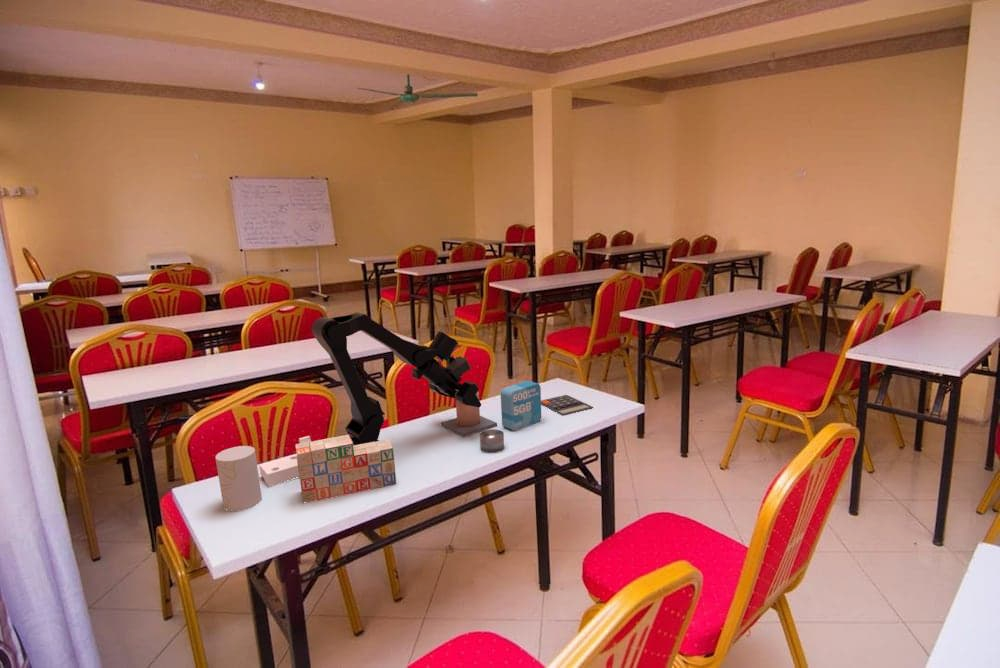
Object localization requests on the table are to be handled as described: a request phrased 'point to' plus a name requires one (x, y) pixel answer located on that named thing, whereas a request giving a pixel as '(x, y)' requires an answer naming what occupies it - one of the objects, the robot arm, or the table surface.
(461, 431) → the charcoal mat
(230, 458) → the beige upright cylinder
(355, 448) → the stack of blocks
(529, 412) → the data package
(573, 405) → the calculator
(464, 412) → the terracotta canister
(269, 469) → the bracket
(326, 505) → the table surface
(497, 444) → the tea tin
